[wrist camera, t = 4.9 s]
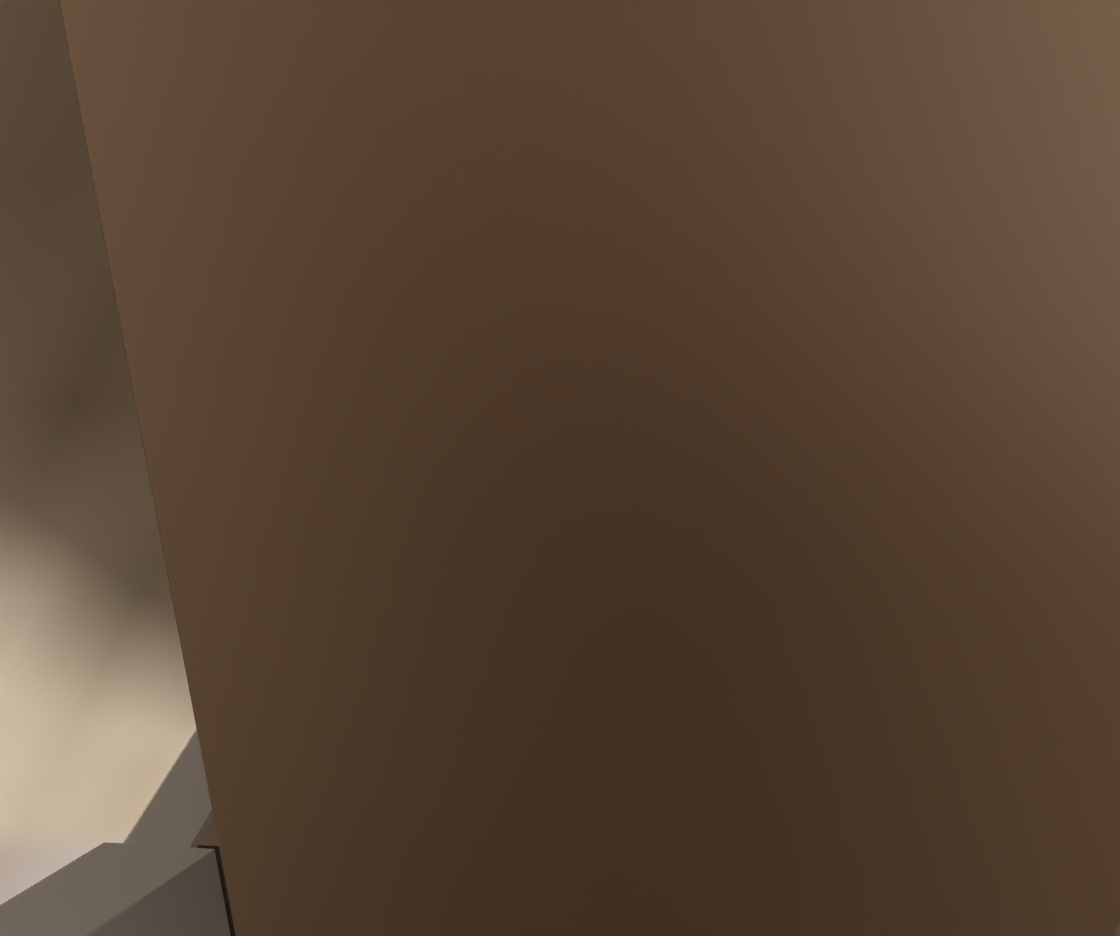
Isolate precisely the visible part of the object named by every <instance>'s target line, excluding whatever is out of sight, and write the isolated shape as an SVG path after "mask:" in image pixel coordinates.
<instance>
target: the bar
mask: <svg viewBox="0 0 1120 936" xmlns="http://www.w3.org/2000/svg"><path fill="white" fill-rule="evenodd" d="M59 1H60V7H61V12H62V17H63V22H64V28H65V33H66V38H67V44H68V49H69V54H70V59H71V65H72V70H73V75H74V81H75V86H76V91H77V97H78V102H79V107H80V112H81V118H82V123H83V128H84V134H85V139H86V144H87V150H88V155H89V160H90V165H91V171H92V176H93V181H94V187H95V192H96V197H97V203H98V208H99V213H100V218H101V224H102V229H103V234H104V240H105V245H106V250H107V256H108V261H109V266H110V271H111V277H112V282H113V287H114V293H115V298H116V303H117V309H118V314H119V319H120V324H121V330H122V335H123V340H124V346H125V351H126V356H127V362H128V367H129V372H130V377H131V383H132V388H133V393H134V399H135V404H136V409H137V415H138V420H139V425H140V430H141V436H142V441H143V446H144V452H145V457H146V462H147V468H148V473H149V478H150V483H151V489H152V494H153V499H154V505H155V510H156V515H157V521H158V526H159V531H160V536H161V542H162V547H163V552H164V558H165V563H166V568H167V574H168V579H169V584H170V589H171V595H172V600H173V605H174V611H175V616H176V621H177V627H178V632H179V637H180V642H181V648H182V653H183V658H184V664H185V669H186V674H187V680H188V685H189V690H190V695H191V701H192V706H193V711H194V717H195V722H196V727H197V733H198V738H199V743H200V748H201V754H202V759H203V764H204V770H205V775H206V780H207V786H208V791H209V796H210V801H211V807H212V812H213V817H214V823H215V828H216V833H217V839H218V844H219V849H220V854H221V860H222V865H223V870H224V876H225V881H226V886H227V892H228V897H229V902H230V907H231V913H232V918H233V923H234V929H235V934H236V936H1116V933H1117V929H1118V926H1119V923H1120V0H59Z"/></svg>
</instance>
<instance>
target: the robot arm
mask: <svg viewBox="0 0 1120 936" xmlns="http://www.w3.org/2000/svg"><path fill="white" fill-rule="evenodd" d="M0 936H236V934H235V929H234V923H233V918H232V913H231V907H230V902H229V897H228V892H227V886H226V881H225V876H224V870H223V865H222V860H221V854H220V849H219V844H218V839H217V833H216V828H215V823H214V817H213V812H212V807H211V801H210V796H209V791H208V786H207V780H206V775H205V770H204V764H203V759H202V754H201V748H200V743H199V738H198V733H197V729H196V730H195V732H194V734H193V735H192V737H191V738H190V740H189V741H188V743H187V744H186V746H185V748H184V749H183V751H182V752H181V754H180V755H179V757H178V758H177V760H176V761H175V763H174V765H173V766H172V768H171V769H170V771H169V772H168V774H167V775H166V777H165V779H164V780H163V782H162V783H161V785H160V786H159V788H158V789H157V791H156V793H155V794H154V796H153V797H152V799H151V800H150V802H149V803H148V805H147V807H146V808H145V810H144V811H143V813H142V814H141V816H140V817H139V819H138V821H137V822H136V824H135V825H134V827H133V828H132V830H131V831H130V833H129V834H128V836H127V838H126V839H125V841H124V842H123V843H102V844H101V845H99V846H98V847H96V848H94V849H93V850H91V851H89V852H88V853H86V854H84V855H83V856H81V857H79V858H78V859H76V860H74V861H73V862H71V863H69V864H68V865H66V866H64V867H63V868H61V869H59V870H58V871H56V872H55V873H53V874H51V875H50V876H48V877H46V878H45V879H43V880H41V881H40V882H38V883H36V884H35V885H33V886H31V887H30V888H28V889H26V890H25V891H23V892H22V893H20V894H18V895H16V896H15V897H13V898H12V899H10V900H8V901H7V902H5V903H3V904H2V905H0ZM1116 936H1120V923H1119V926H1118V929H1117V933H1116Z"/></svg>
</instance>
